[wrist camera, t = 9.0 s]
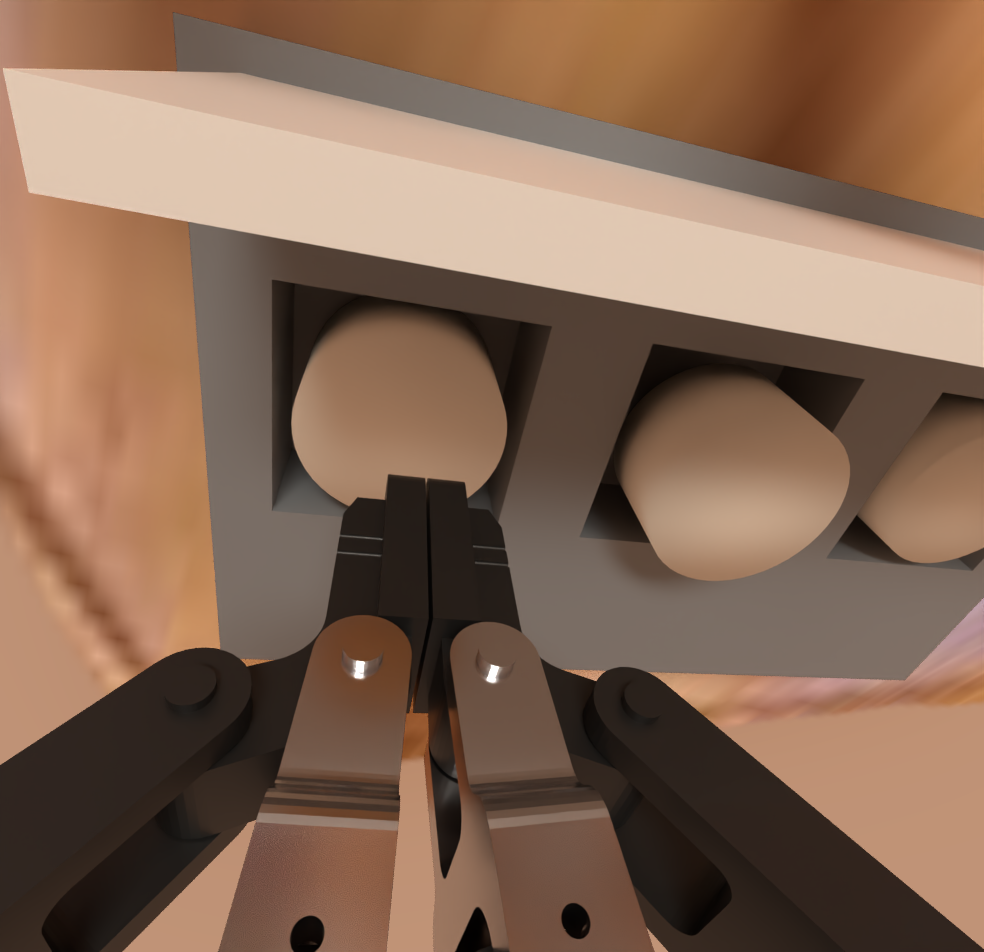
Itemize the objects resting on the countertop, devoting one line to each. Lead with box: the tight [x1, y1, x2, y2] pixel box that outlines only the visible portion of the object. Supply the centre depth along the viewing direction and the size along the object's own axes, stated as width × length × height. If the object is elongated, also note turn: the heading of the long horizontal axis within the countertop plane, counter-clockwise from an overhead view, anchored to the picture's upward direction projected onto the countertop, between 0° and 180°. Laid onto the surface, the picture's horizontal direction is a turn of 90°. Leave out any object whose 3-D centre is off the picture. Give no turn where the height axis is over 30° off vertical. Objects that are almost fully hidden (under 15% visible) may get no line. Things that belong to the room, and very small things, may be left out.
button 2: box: [857, 392, 984, 563], centre depth 18 cm, size 5×5×3 cm
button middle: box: [614, 363, 850, 581], centre depth 15 cm, size 5×5×3 cm
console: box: [3, 12, 984, 680], centre depth 15 cm, size 26×16×11 cm, turn 78°
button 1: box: [291, 295, 507, 506], centre depth 15 cm, size 5×5×3 cm
